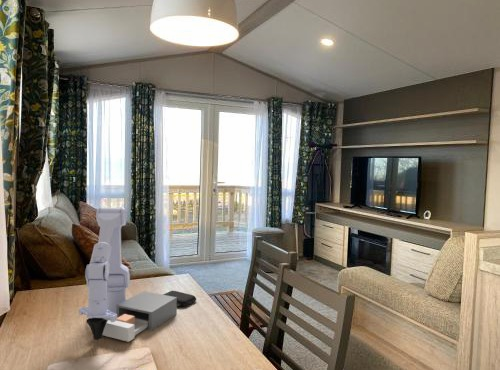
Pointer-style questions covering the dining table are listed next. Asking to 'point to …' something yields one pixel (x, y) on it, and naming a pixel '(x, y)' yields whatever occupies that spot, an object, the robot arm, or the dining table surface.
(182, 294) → the carrying case or bag
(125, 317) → the block
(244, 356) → the dining table surface
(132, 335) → the tray
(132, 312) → the housing
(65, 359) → the dining table surface
